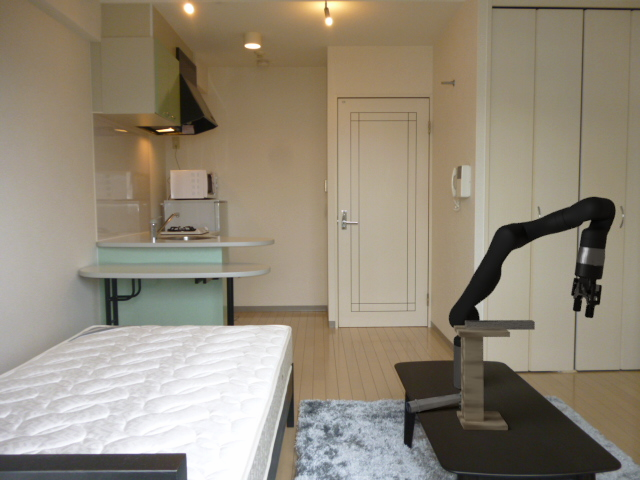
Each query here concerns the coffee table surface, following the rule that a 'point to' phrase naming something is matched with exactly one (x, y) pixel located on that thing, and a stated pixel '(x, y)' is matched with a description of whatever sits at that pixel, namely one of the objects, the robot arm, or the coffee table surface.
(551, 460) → the coffee table surface
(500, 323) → the grey long bar
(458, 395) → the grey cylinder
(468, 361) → the birch stand
